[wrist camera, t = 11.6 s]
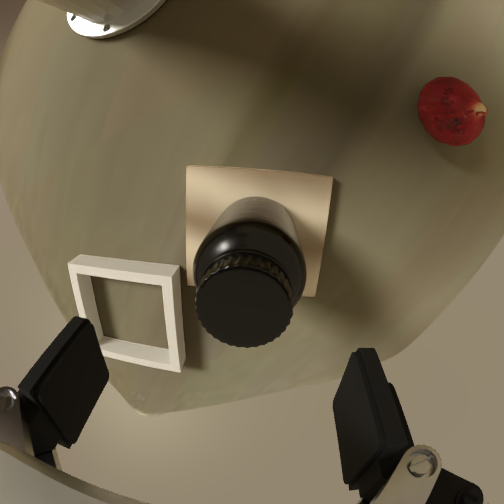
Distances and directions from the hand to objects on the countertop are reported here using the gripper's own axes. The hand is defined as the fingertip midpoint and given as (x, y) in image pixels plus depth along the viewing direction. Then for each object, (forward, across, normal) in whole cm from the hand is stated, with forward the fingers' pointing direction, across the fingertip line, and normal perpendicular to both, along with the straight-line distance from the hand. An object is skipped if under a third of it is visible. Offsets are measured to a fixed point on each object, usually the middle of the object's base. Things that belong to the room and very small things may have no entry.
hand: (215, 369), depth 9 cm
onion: (+18, -16, -12) cm, 26 cm away
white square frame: (+17, +12, +11) cm, 24 cm away
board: (+17, -1, +1) cm, 17 cm away
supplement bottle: (+17, -1, +1) cm, 17 cm away
